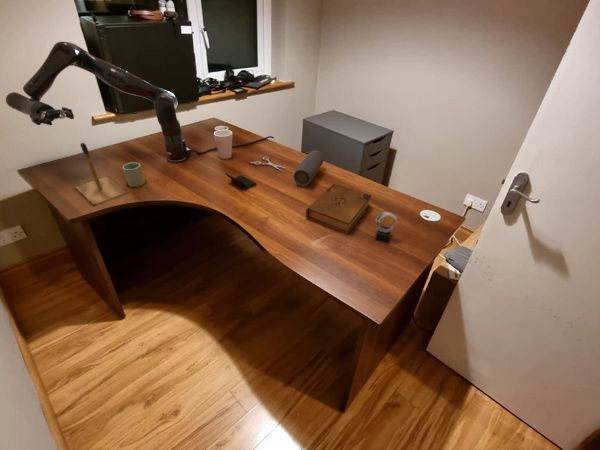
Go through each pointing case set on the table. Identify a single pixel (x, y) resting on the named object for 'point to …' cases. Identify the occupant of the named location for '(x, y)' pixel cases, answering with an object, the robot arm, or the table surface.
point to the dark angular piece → (242, 181)
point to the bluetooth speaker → (308, 168)
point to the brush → (90, 164)
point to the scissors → (266, 163)
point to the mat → (95, 194)
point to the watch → (382, 230)
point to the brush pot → (133, 174)
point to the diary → (338, 208)
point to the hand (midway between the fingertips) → (61, 119)
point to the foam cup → (224, 143)
